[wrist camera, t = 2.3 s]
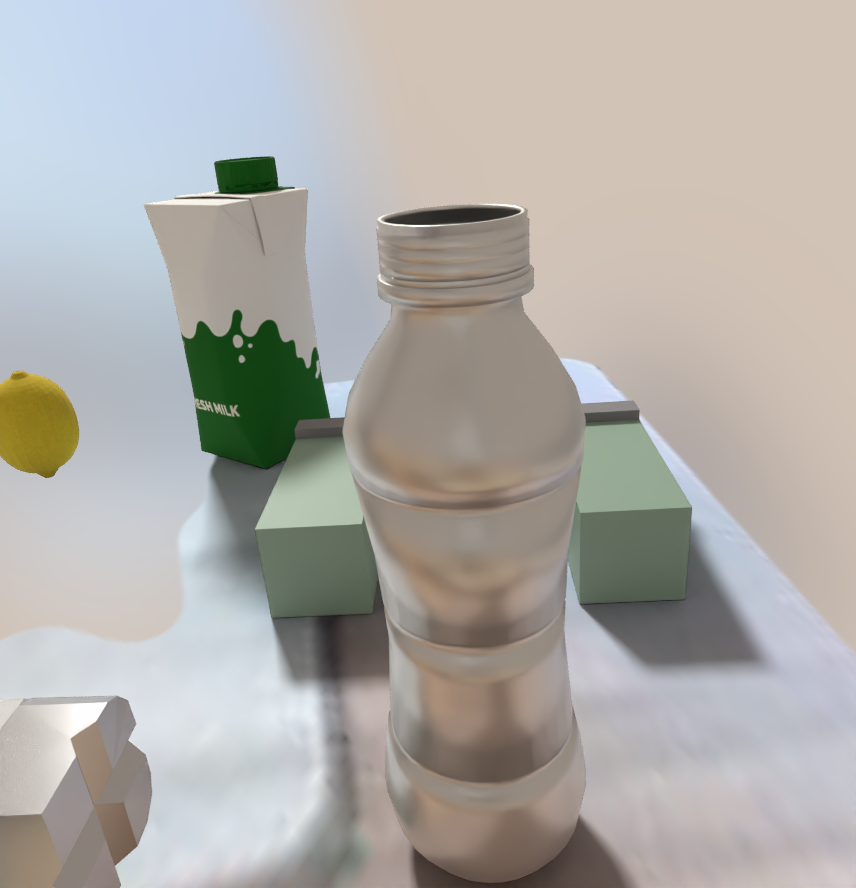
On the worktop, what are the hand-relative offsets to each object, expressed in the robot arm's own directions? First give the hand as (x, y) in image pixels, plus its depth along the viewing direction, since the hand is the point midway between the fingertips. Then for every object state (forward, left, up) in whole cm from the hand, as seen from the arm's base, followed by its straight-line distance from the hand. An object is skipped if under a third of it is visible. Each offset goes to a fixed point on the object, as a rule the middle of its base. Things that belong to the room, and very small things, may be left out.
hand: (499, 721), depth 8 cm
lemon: (-30, +42, -16) cm, 55 cm away
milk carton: (-15, +46, -16) cm, 51 cm away
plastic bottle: (0, +12, -16) cm, 20 cm away
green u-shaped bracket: (0, +30, -16) cm, 34 cm away
